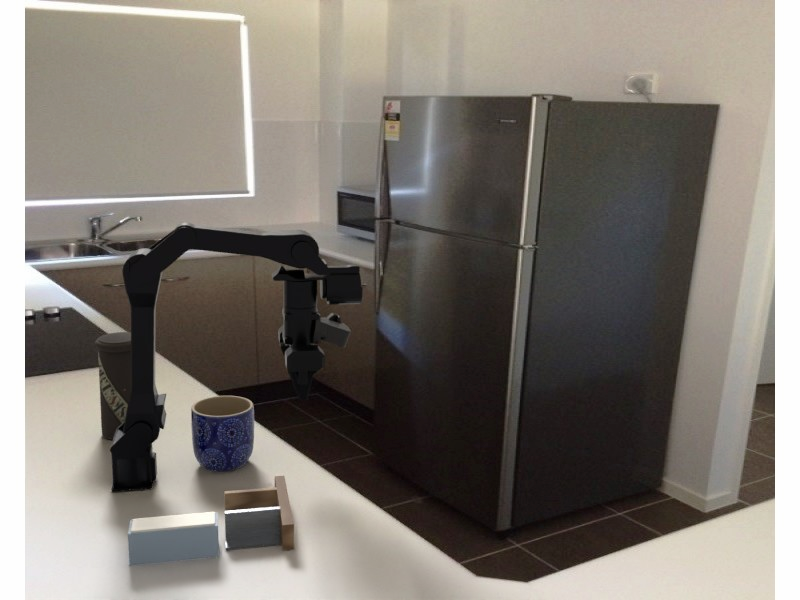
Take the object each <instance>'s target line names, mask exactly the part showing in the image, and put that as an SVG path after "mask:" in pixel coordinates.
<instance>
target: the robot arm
mask: <svg viewBox="0 0 800 600" xmlns="http://www.w3.org/2000/svg"><path fill="white" fill-rule="evenodd" d="M189 250H197V251H205V252H213V253H215V252H216V253H224V254H233V255H241V256H242V255H243V256H252V257H261V258H264V259H268V260H270V261H273V262H275V263H279V264H280V265H279V266H278V268H277V269H276V270H275V271H273V272H272V273H271V277H272V280H273V281H275V282H279V281H280V282H282V284H283V285H282V286H283V287H282V290H283V292H282V294H283V296H282V297H283V299H282V300H283V301H282V302H283V305H282V306H283V307H282V309H281V310H282V312H281V313H282V314H281V315H282V318H283V319H282V320H283V324H282V325H281V326H280V327H279V328H278V332H277V333H278V334H277V335H278V336H277V337H278V342H279V347H280V349H281V352H282V354H283V357H284V360H285V361H284V362H285V363H284V365H285V368H286V372H287V374H288V376H289V378H290V380H291V383H292V385H293V387H294V389H295V390H294V391H295V393H296V396H297V398H298V400H299V402H300V403H306V402H307V401H308V397H309V394H310V389H311V386H312V382H313V378H314V375H315V374H316V373H318V372H319V371H321V370H323V369H324V368H325V367H326V355H325V352H324V350H323V349H322V348H321V347H320V346H319V345H321V344H322V341H323V342H325V343H329V344H333V345H336V346H337V347H338V348H342V349H344V348H346V345H347V343H348V341H349V337H350V335H351V332H352V330H351V329H350V328H349V326H348V325H346V324H345V323H342V320H341V319H342V318H341V317H340V315H339V314H336V313H334V312H331V313H329V315H327V316H326V317H325V316H324V317H323V316H322V317H321V314H320V313H319V310H318V281H319V294H320V295H319V296H320V299H321V300H325V301H326V303H327V305H334V306H335V305H361V304H362V300H363V290H364V289H363V285H362V277H361V271H360V270H361V269H360V266H359V265H358V263H356V264H354V263H352V264H347V265H346V264H345V265H328V263H327V261H326V260H325V259H324V258H321V257H320V256H319V254H320V247H319V244H318V242H317V240H316V239H315V238H314V237H313V236H312V235H311V234H310V233H309V232H308V231H307V230H303V229H286V230H283V229H282V230H276V231H267V232H259V231H250V230H243V229H235V228H233V229H232V228H224V227H214V226H208V225H199V224H194V223H191V222H187V221H186V222H182V223H179V224H177V225H176V226H175V228H174V229H173V230H171V231H170V232H169V233H167V234H166V235H164V236H163V237H161V239H159V240H158V241H156V242H155V243H154V244H153V245H151V246H150V247H148V248H146V247H145V248H138V249H137V250H134V251H133V252H132V253H131V254H130V255H128V258H127V259H126V261H125V262H124V265H122V266H123V267H122V271H121V272H122V279H123V284H124V290H125V293H126V294H125V295H126V298H127V300H128V303H129V307H130V332H131V393H130V398H129V403H128V407H127V412H126V417H125V421H124V422H123V423H122V424H121V425H120V426H119V427H118V428H117V429H116V432H115V435H114V438H113V440H111V441H112V442H111V445H110V448H109V452H110V454H111V471H112V474H111V475H112V485H111V488H110V489H111V492H113V493H114V492H126V491H127V492H129V491H141V490H151V489H152V488H153V486H154V482H155V481H156V480H157V478H158V477H157V476H158V466H157V465H158V462H157V452H155V451H153V444H154V442H155V441H157V440H158V438H159V436H160V431H161V430H164V429H165V425H166V419H167V410H166V409H165V402H166V399H167V393H161V394H160V393H158V389H157V386H156V337H157V336H156V333H157V332H156V330H157V328H156V327H157V326H156V325H157V323H156V321H157V319H156V314H157V313H156V312H157V311H156V310H157V309H156V306H157V301H158V296H159V292H160V288H161V287H160V286H161V284H162V282H161V281H162V277H163V273H164V271H165V270H166V269H168V268H169V267H170V266H171V265H173V264H174V263H175V262H176V261H177V260H178V259H180V257H181V256H183V255H184V254H185V253H186V252H188V251H189ZM285 266H288V267H292V268H286V267H285ZM305 269H308V270H309V271H311V272H313V273H305Z"/></svg>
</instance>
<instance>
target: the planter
mask: <svg viewBox="0 0 800 600" xmlns="http://www.w3.org/2000/svg"><path fill="white" fill-rule="evenodd" d="M254 408H255V407H254V402H252V400H250V399H249V398H246V397H242V396H236V395H218V396H215V395H214V396H210V397H207V398H202V399H199V400H198V401H196V402H194V403H193V404H192V405H191V408H190V418H191V419H190V421H191V425H190V426H191V440H192V448H193V453H194V457H195V460H196V461H197V463H199V465H200V466H202V468H204V469H206V470H207V471H211V472H217V473H219V472H220V473H222V472H224V473H225V472H231V471H234V470H237V469H240V468H241V467H243V466H245V465H246V464H247V462H248V461H249V460H250V458H251V456H252V454H253V451H254V442H255V409H254Z"/></svg>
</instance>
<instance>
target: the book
mask: <svg viewBox="0 0 800 600" xmlns="http://www.w3.org/2000/svg"><path fill="white" fill-rule="evenodd" d="M129 521H130V522H129V526H128V532H127V546H128V547H127V548H128V549H127V550H128V563H129V567H132V566H133V567H134V566H144V565H152V564H163V563H164V564H165V563H172V562H183V561H190V560H191V561H192V560H203V559H211V558H219V557H220V554H219V553H220V552H219V549H220V547H219V542H220V541H219V512H218V511H217V512H215V511H207V512H206V511H205V512H194V513H185V514H172V515H161V516H160V515H159V516H150V517H149V516H148V517H139V518H133V519H130V520H129Z"/></svg>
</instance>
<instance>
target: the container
mask: <svg viewBox="0 0 800 600" xmlns="http://www.w3.org/2000/svg"><path fill="white" fill-rule="evenodd" d="M94 345H95V347H96V349H97V359H98V360H97V361H98V378H99V400H100V423H101V425H100V426H101V435H102V437H103V438H105V439H106V440H109V441H110V440H111V441H113V438H114V435H115V432H116V429H117V428H118V427H119V426H120V425H121V424H122V423H123V422H124V421H125V417H126V412H127V407H128V403H129V398H130V393H131V331H120V332H119V331H117V332H112V333H105V334H103V335H101V336H99V337H98V338H97V339H96V340H95V342H94Z"/></svg>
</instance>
